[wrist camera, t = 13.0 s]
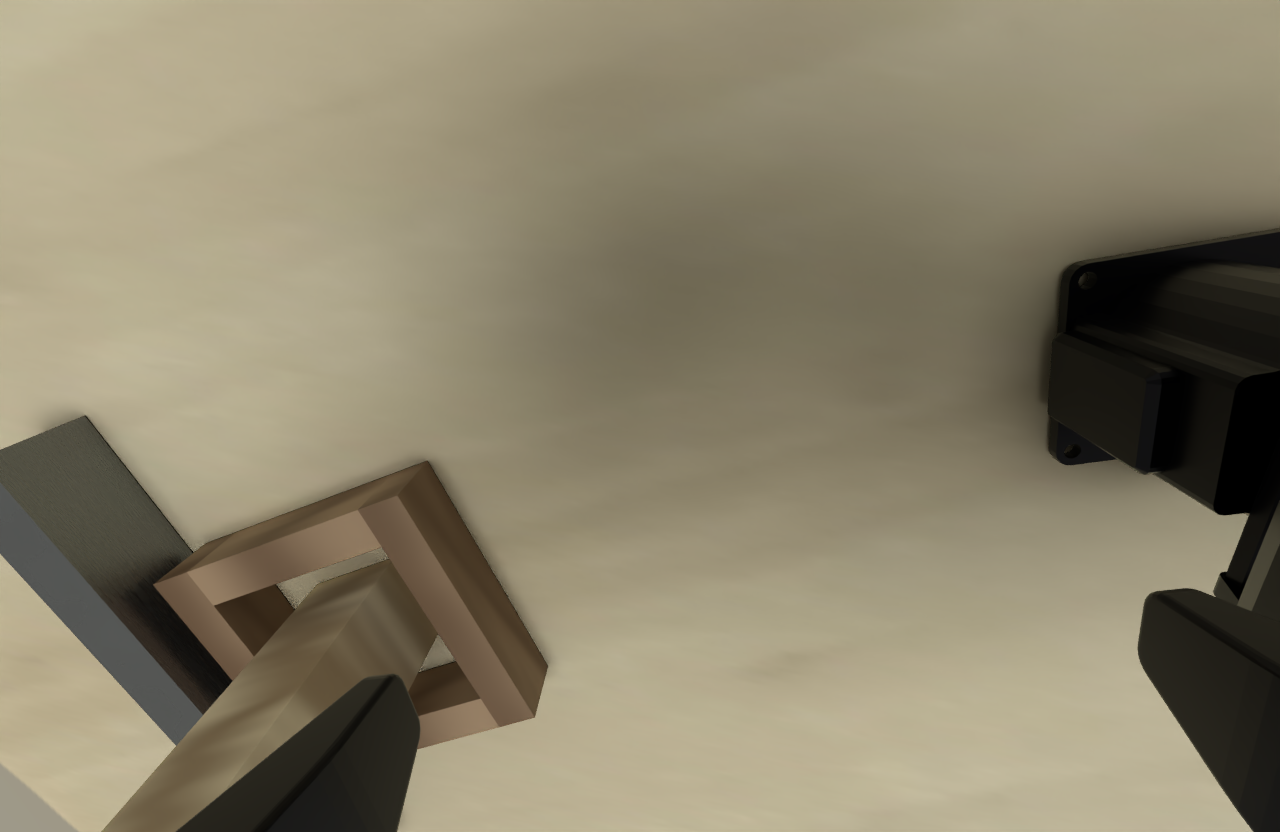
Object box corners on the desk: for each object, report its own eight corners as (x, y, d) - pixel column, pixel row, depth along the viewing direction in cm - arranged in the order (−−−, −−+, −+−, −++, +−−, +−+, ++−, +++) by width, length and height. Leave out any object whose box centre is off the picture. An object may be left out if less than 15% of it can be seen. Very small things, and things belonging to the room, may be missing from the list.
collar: (427, 460, 21) (397, 495, 19) (547, 666, 25) (534, 717, 22) (204, 543, 23) (152, 584, 21) (344, 724, 26) (312, 777, 24)
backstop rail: (84, 415, 21) (-22, 458, 18) (399, 816, 28) (364, 899, 25) (43, 434, 22) (-68, 479, 18) (364, 825, 29) (324, 907, 26)
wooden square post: (394, 557, 23) (86, 979, 11) (440, 627, 24) (208, 1079, 12) (317, 584, 24) (-54, 1009, 12) (366, 651, 25) (74, 1102, 13)
